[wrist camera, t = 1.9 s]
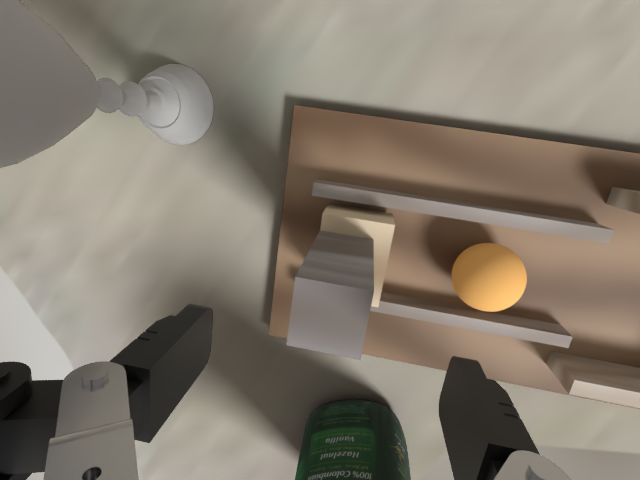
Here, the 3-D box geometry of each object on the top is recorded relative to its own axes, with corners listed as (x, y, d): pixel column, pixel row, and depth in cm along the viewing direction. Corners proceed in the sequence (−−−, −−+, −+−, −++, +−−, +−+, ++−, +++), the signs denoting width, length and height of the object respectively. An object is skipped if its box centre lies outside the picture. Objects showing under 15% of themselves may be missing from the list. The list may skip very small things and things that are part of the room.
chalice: (154, 174, 26) (-274, 255, 9) (107, 77, 24) (-517, -55, 7) (246, 134, 24) (-58, 137, 7) (201, 27, 23) (-317, -293, 6)
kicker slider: (328, 203, 23) (298, 252, 14) (392, 213, 23) (406, 271, 13) (317, 276, 25) (283, 366, 15) (377, 286, 24) (381, 386, 15)
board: (297, 106, 23) (282, 100, 19) (782, 174, 21) (874, 183, 17) (272, 328, 28) (256, 359, 24) (665, 405, 25) (717, 453, 22)
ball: (454, 230, 23) (470, 249, 19) (520, 240, 23) (549, 262, 19) (439, 288, 24) (451, 316, 20) (501, 299, 24) (526, 330, 20)
